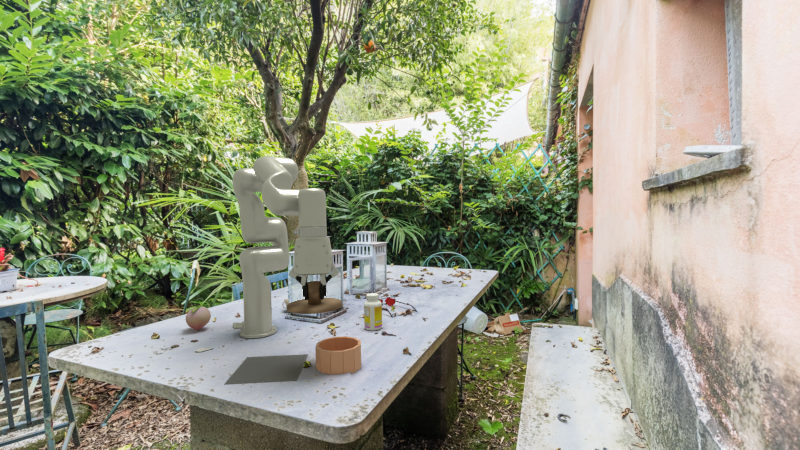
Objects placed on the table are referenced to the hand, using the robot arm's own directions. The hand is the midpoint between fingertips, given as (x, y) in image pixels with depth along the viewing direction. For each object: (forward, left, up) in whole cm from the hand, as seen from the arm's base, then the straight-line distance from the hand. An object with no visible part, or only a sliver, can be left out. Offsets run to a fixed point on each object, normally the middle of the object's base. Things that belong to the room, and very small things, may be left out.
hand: (314, 298), depth 103 cm
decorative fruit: (-50, +41, -20) cm, 68 cm away
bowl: (+6, 0, -20) cm, 21 cm away
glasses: (+25, +58, -20) cm, 67 cm away
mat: (-13, 0, -20) cm, 23 cm away
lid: (0, 0, -2) cm, 2 cm away
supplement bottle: (+16, +34, -20) cm, 43 cm away
